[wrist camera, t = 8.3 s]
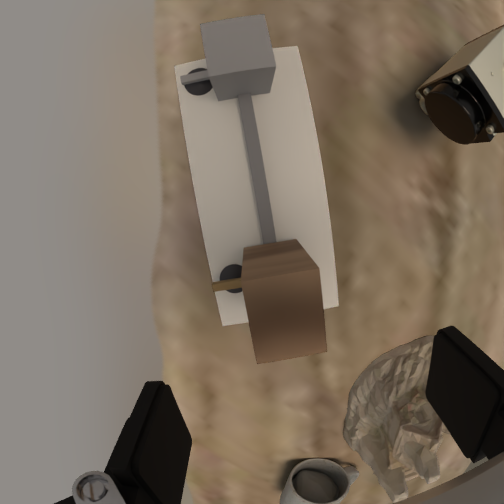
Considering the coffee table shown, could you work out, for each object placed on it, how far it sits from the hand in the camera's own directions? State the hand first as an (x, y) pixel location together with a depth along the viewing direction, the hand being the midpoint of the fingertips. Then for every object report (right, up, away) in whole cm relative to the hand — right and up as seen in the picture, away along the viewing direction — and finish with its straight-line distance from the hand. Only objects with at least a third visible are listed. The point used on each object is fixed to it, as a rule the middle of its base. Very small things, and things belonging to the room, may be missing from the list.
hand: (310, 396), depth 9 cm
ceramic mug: (+7, -25, +23) cm, 35 cm away
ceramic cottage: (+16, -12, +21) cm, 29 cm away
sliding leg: (-2, +3, +14) cm, 15 cm away
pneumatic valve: (+15, +19, +13) cm, 28 cm away
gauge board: (-1, +10, +15) cm, 18 cm away
